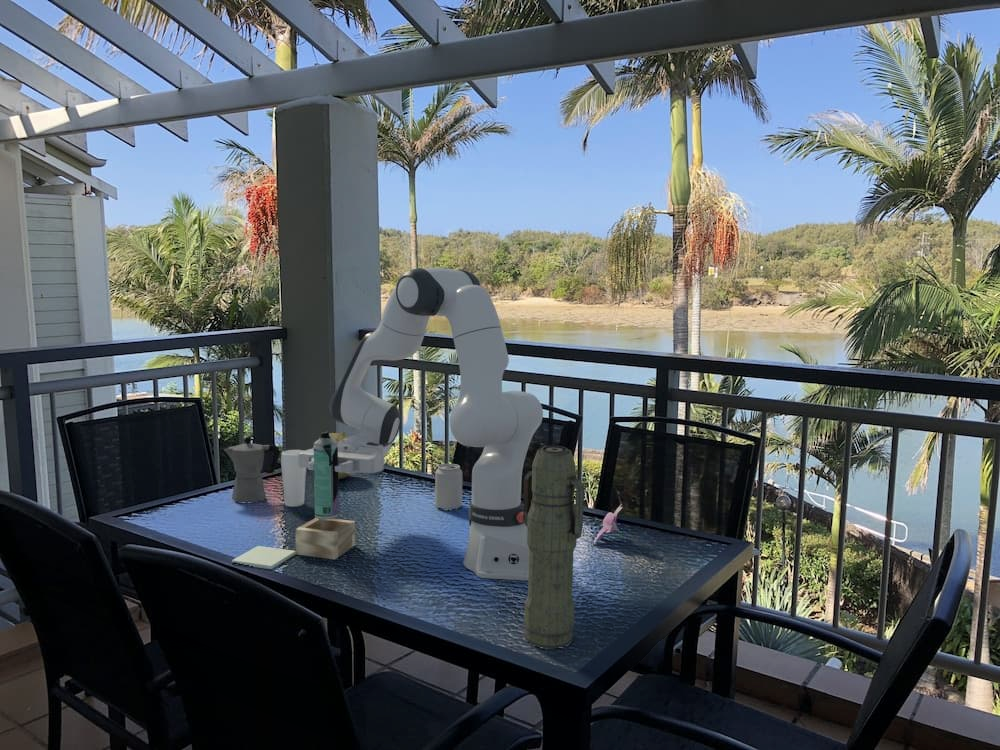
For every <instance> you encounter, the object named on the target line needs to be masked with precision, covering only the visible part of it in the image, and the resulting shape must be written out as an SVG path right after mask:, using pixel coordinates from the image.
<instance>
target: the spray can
mask: <svg viewBox="0 0 1000 750" xmlns="http://www.w3.org/2000/svg"><path fill="white" fill-rule="evenodd" d="M329 433H330V432H329V431H327V430H326V431H322V432H321V435H320V436H319V439H317V440H316V441H314V442H313V447H312V449H313V450H314V470H313V480H314V481H313V487H314V488H313V489H314V490H313V492H314V493H313V494H314V518H317V519H322V520H328V519H338V518H339V516H340V505H339V504H340V502H339V500H340V499H339V498H340V497H339V479H338V472H335V465H336V464H338V445H337V441H335V440H333V439H331V438H332V437H330V435H329Z"/></svg>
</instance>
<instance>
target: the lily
mask: <svg viewBox="0 0 1000 750" xmlns="http://www.w3.org/2000/svg"><path fill="white" fill-rule="evenodd" d="M622 505H623V503H620V505H619V506H618V507H617V508H616V510H615V511H614V513H613V512H608V513H606V515H605V517H604V518H603V520H602V528H601V529H600V530H599V532H598V533H597V535H596V536H597V537H596V536H595V539H594V541H593V542H594V544H596V542H597V540H599V537H600V536H601V535H603V534H606V533H610V532H617V533H619V534H620V536H621V538H622V540H624V539H625V537H624V535H623V534H622V533H621V532H620V530H619V529H618V523H617V516H618V513H619V512H621V510H622V509H623V506H622Z"/></svg>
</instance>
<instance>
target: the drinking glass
mask: <svg viewBox="0 0 1000 750" xmlns="http://www.w3.org/2000/svg"><path fill="white" fill-rule="evenodd" d="M302 451H304V450H302V449H287V450H284V451H282V452H280V455H281V457H280V463H281V465H280V466H281V468H280V469H281V475H282V476H281V477H282V485H283V486H282V487H283V494H284V495H283V496H284V505H285V506H286V507H288V508H298V507H301V506H303V505H304V504H305V492H306V491H305V490H306V489H305V488H306V478H307V468H302V467H300V466H299V464H298V454H299V453H300V452H302Z"/></svg>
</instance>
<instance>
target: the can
mask: <svg viewBox="0 0 1000 750" xmlns="http://www.w3.org/2000/svg"><path fill="white" fill-rule="evenodd" d="M434 474H435V479H434V480H435V481H434V482H435V483H434V484H435V487H434V488H435V489H434V491H435V492H434V506H435V507H437V508H438V509H439V508H441V509H456V508H458V509H460V507H462V505H463V471H462V469H461V466H460V465H459V464H455V463H442V464H439V465H438V466H437V468H436V470H435V473H434ZM441 509H440V510H441ZM456 510H457V509H456Z"/></svg>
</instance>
